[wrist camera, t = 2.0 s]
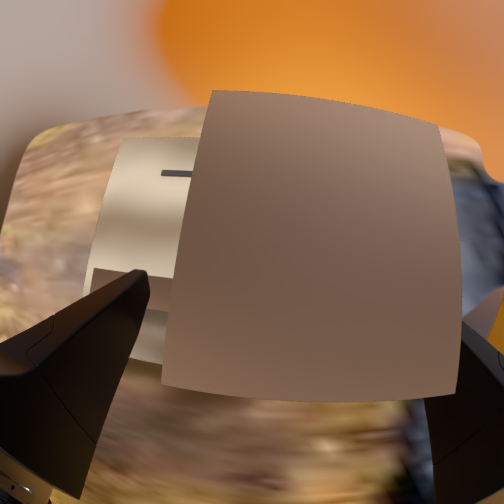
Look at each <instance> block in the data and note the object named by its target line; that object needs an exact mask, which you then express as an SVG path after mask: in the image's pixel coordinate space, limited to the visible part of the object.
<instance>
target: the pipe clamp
mask: <svg viewBox="0 0 504 504" xmlns="http://www.w3.org/2000/svg"><path fill="white" fill-rule="evenodd" d="M486 341H488V342H489V343H490V344H491V345H492V346H494V347H495V348H496V349H497V351H500V352H501V353H502V354H503V355H504V295H503V298H502V300H501V303H500V306H499V309H498V311H497V314H496V317H495V319H494V322H493V325H492V327H491V330H490V332H489V334H488V336H487V339H486Z"/></svg>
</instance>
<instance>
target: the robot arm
mask: <svg viewBox="0 0 504 504" xmlns="http://www.w3.org/2000/svg"><path fill="white" fill-rule="evenodd" d="M149 299H150V285H149V279H148V274H147V272H146V271H145V270H140V269H133V270H132V271H130V272H128V273H126V274H124V275H122V276H121V277H119V278H117V279H115V280H113V281H112V282H110V283H108V284H106V285H104V286H103V287H101V288H99V289H97V290H95V291H94V292H92V293H90V294H88V295H87V296H85V297H83V298H81V299H80V300H78V301H76V302H74V303H73V304H71V305H69V306H67V307H66V308H64V309H62V310H61V311H59V312H57V313H55V315H52V316H50V317H49V318H47V319H45V320H43V321H42V322H40V323H38V324H36V325H35V326H33V327H31V328H29V329H27V330H25V331H23V332H21V333H19V334H17V335H15V336H13V337H11V338H9V339H7V340H5V341H4V342H2V343H0V504H52V503H51V501H50V499H49V498H50V495H51V492H52V489H53V487H54V488H55V489H57V490H59V491H61V492H63V493H65V494H67V495H69V496H71V497H74V498H76V499H78V500H80V497H81V494H82V491H83V487H84V484H85V480H86V477H87V474H88V471H89V467H90V464H91V461H92V458H93V455H94V452H95V449H96V444H97V442H98V439H99V436H100V433H101V431H102V428H103V425H104V422H105V419H106V416H107V414H108V411H109V408H110V405H111V403H112V400H113V397H114V395H115V392H116V389H117V387H118V384H119V382H120V379H121V377H122V374H123V372H124V369H125V367H126V364H127V362H128V359H129V357H130V354H131V352H132V349H133V347H134V345H135V342H136V340H137V337H138V335H139V331H140V328H141V325H142V321H143V318H144V315H145V311H146V308H147V305H148V302H149ZM423 399H424V405H425V410H426V417H427V423H428V430H429V437H430V445H431V453H432V463H433V476H434V491H435V504H504V355H503V354H502V353H501V352H500V351H497V349H496V348H495V347H494V346H492V345H491V344H490V343H489V342H488V341H486V340H485V339H484V338H483V337H482V336H480V335H479V334H478V333H477V332H476V331H474V330H473V329H471V327H469V326H468V325H467V324H466V323H464V322H463V321H462V327H461V344H460V357H459V367H458V375H457V383H456V390H455V394H449V395H442V396H435V397H426V398H423Z"/></svg>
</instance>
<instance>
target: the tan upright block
mask: <svg viewBox="0 0 504 504" xmlns="http://www.w3.org/2000/svg"><path fill="white" fill-rule="evenodd" d="M126 273H128V272H120V271H113V270H106V269H100V268H94V270H93V275H92V281H91V287H90V293H92V292H94V291H95V290H97V289H99V288H101V287H103V286H104V285H106V284H108V283H110V282H112V281H113V280H115V279H117V278H119V277H121V276H122V275H124V274H126ZM148 279H149V285H150V299H149V302H148V305H147V308H146V309H149V310H155V311H161V312H168V319H167V327H166V336H165V345H164V354H163V364H162V375H161V385H166V386H171V387H177V388H182V389H188V390H194V391H200V392H206V393H213V394H220V395H228V396H236V397H245V398H254V399H266V400H279V401H296V402H377V401H394V400H406V399H417V398H426V397H435V396H442V395H449V394H455V390H456V383H457V375H458V367H459V357H460V344H461V327H462V274H461V256H460V243H459V233H458V224H457V216H456V209H455V202H454V196H453V190H452V185H451V179H450V174H449V169H448V165H447V160H446V156H445V151H444V147H443V143H442V139H441V136H440V132H439V128H438V125H436V124H433V123H430V122H426V121H423V120H419V119H415V118H412V117H408V116H405V115H401V114H397V113H393V112H389V111H384V110H380V109H375V108H370V107H366V106H361V105H356V104H351V103H345V102H339V101H333V100H327V99H320V98H313V97H305V96H297V95H288V94H277V93H264V92H249V91H222V90H220V91H219V90H212V94H211V97H210V101H209V105H208V109H207V112H206V116H205V120H204V124H203V128H202V133H201V137H200V141H199V145H198V149H197V154H196V158H195V163H194V167H193V172H192V176H191V181H190V186H189V191H188V196H187V201H186V206H185V211H184V216H183V222H182V227H181V233H180V238H179V244H178V250H177V256H176V262H175V269H174V275H173V278H166V277H158V276H150V275H148ZM90 293H89V294H90Z"/></svg>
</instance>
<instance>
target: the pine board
mask: <svg viewBox="0 0 504 504" xmlns="http://www.w3.org/2000/svg"><path fill="white" fill-rule="evenodd" d="M199 141H200V138H194V137H149V138H123V140H122V143H121V146H120V149H119V151H118V154H117V157H116V160H115V163H114V166H113V169H112V172H111V176H110V179H109V182H108V185H107V189H106V192H105V196H104V199H103V203H102V206H101V210H100V214H99V218H98V222H97V226H96V230H95V234H94V238H93V243H92V247H91V252H90V257H89V262H88V267H87V272H86V278H85V284H84V290H83V296H82V298H83V297H85V296H87V295H88V294H89V293H90V287H91V281H92V275H93V270H94V268H100V269H106V270H113V271H120V272H130V271H132V270H133V269H140V270H145V271H146V272H147V274H148V275H150V276H158V277H166V278H173V275H174V269H175V262H176V256H177V250H178V244H179V238H180V233H181V227H182V222H183V216H184V211H185V206H186V201H187V196H188V191H189V186H190V181H191V176H192V172H193V167H194V163H195V158H196V154H197V149H198V145H199ZM167 319H168V312H161V311H155V310H149V309H146V311H145V315H144V318H143V321H142V325H141V328H140V331H139V335H138V337H137V340H136V342H135V345H134V347H133V349H132V352H131V354H130V357H129V358H133V359H138V360H142V361H147V362H152V363H157V364H163V354H164V345H165V336H166V327H167Z"/></svg>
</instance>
